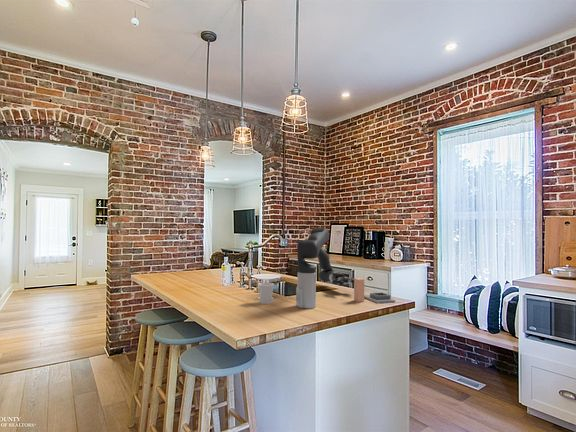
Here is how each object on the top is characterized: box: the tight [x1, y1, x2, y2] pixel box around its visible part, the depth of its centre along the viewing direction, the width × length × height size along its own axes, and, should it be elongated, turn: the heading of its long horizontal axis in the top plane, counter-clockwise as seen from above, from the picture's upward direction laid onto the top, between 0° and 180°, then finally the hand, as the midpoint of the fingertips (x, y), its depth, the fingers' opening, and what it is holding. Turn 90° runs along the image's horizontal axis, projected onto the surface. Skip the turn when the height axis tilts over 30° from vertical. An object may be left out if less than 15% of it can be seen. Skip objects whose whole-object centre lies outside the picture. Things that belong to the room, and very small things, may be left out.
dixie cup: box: [257, 281, 275, 305], centre depth 175 cm, size 8×8×10 cm
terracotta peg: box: [353, 277, 365, 303], centre depth 181 cm, size 4×4×12 cm
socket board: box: [364, 292, 396, 304], centre depth 184 cm, size 11×15×3 cm
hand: (349, 282), depth 192 cm, fingers open, 8 cm apart
